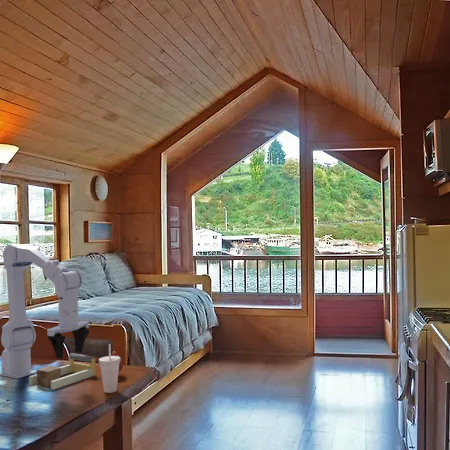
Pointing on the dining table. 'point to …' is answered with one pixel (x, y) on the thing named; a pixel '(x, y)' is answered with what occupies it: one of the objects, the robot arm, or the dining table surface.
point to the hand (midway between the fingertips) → (69, 355)
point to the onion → (119, 362)
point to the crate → (47, 375)
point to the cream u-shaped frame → (79, 371)
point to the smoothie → (109, 371)
